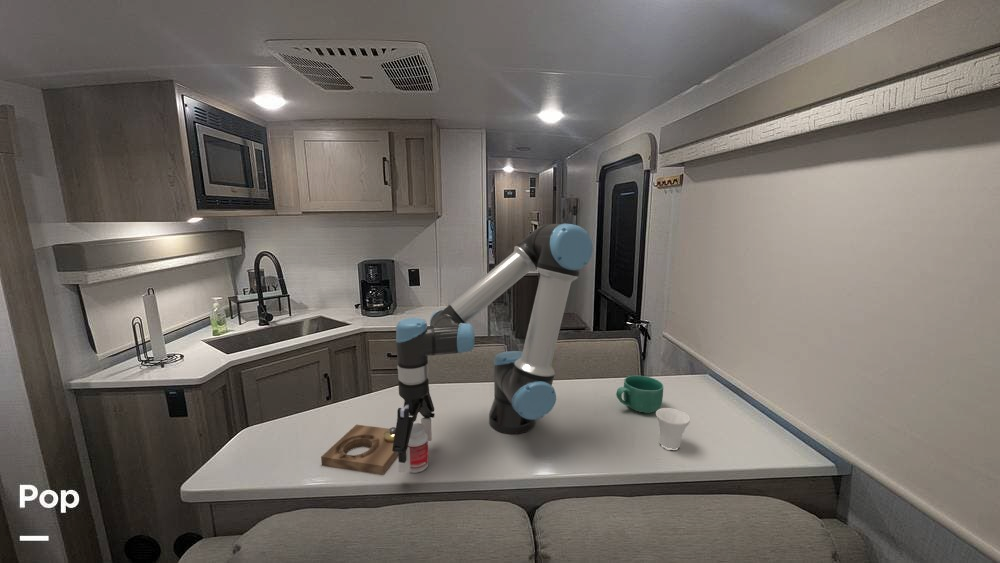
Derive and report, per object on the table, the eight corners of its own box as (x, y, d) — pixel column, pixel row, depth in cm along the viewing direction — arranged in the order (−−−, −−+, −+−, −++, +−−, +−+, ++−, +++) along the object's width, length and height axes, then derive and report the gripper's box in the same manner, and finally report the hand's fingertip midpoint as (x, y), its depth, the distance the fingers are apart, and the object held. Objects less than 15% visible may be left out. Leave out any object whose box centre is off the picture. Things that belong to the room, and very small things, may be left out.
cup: (646, 442, 108) (648, 410, 107) (669, 434, 112) (671, 404, 110) (670, 459, 100) (673, 425, 98) (694, 451, 104) (697, 418, 102)
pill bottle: (432, 468, 97) (431, 429, 95) (409, 477, 93) (408, 437, 92) (423, 455, 102) (422, 419, 100) (401, 463, 98) (400, 425, 97)
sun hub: (405, 433, 108) (404, 425, 108) (397, 443, 103) (396, 434, 103) (389, 431, 109) (389, 423, 109) (380, 441, 104) (380, 432, 104)
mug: (647, 398, 135) (649, 373, 134) (669, 415, 123) (671, 388, 122) (606, 402, 132) (607, 377, 130) (624, 420, 120) (626, 393, 118)
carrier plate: (410, 439, 110) (410, 431, 109) (383, 474, 94) (382, 465, 94) (356, 432, 113) (356, 424, 113) (321, 465, 98) (321, 456, 97)
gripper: (420, 360, 106) (422, 427, 110) (373, 400, 82) (378, 485, 86) (444, 362, 105) (446, 430, 108) (404, 404, 81) (408, 490, 84)
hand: (416, 454), depth 97 cm, fingers open, 13 cm apart
